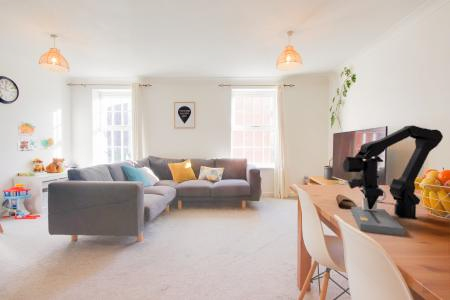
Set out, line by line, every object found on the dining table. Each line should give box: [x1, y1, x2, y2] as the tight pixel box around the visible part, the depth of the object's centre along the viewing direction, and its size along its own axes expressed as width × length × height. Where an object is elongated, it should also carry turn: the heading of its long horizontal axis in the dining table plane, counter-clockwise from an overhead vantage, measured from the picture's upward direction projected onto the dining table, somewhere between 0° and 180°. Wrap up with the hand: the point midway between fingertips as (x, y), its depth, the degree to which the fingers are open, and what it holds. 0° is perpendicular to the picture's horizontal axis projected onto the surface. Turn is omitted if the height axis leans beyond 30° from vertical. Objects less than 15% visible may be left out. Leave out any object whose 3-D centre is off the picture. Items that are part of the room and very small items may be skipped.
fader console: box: [350, 206, 405, 237], centre depth 95 cm, size 13×25×3 cm, turn 159°
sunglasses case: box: [335, 193, 357, 210], centre depth 122 cm, size 18×7×7 cm
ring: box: [377, 186, 387, 203], centre depth 127 cm, size 7×3×8 cm, turn 59°
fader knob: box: [361, 197, 378, 211], centre depth 103 cm, size 5×3×5 cm, turn 69°
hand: (369, 208), depth 103 cm, fingers closed on fader knob, 3 cm apart
